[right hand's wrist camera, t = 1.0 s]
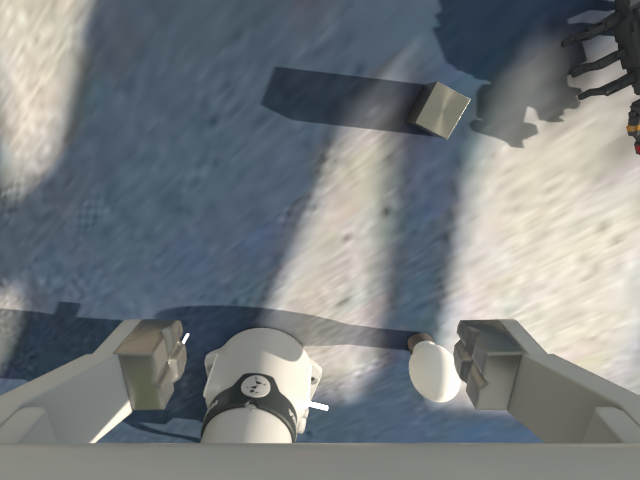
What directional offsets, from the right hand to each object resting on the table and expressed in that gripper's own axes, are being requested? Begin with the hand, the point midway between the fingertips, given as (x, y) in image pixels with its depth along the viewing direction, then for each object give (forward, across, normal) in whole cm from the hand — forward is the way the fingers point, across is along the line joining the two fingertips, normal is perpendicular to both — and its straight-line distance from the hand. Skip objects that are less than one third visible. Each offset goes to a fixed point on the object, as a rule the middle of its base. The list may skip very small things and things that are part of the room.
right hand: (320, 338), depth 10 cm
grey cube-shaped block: (+38, +14, +6) cm, 41 cm away
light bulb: (+38, +16, -28) cm, 50 cm away
